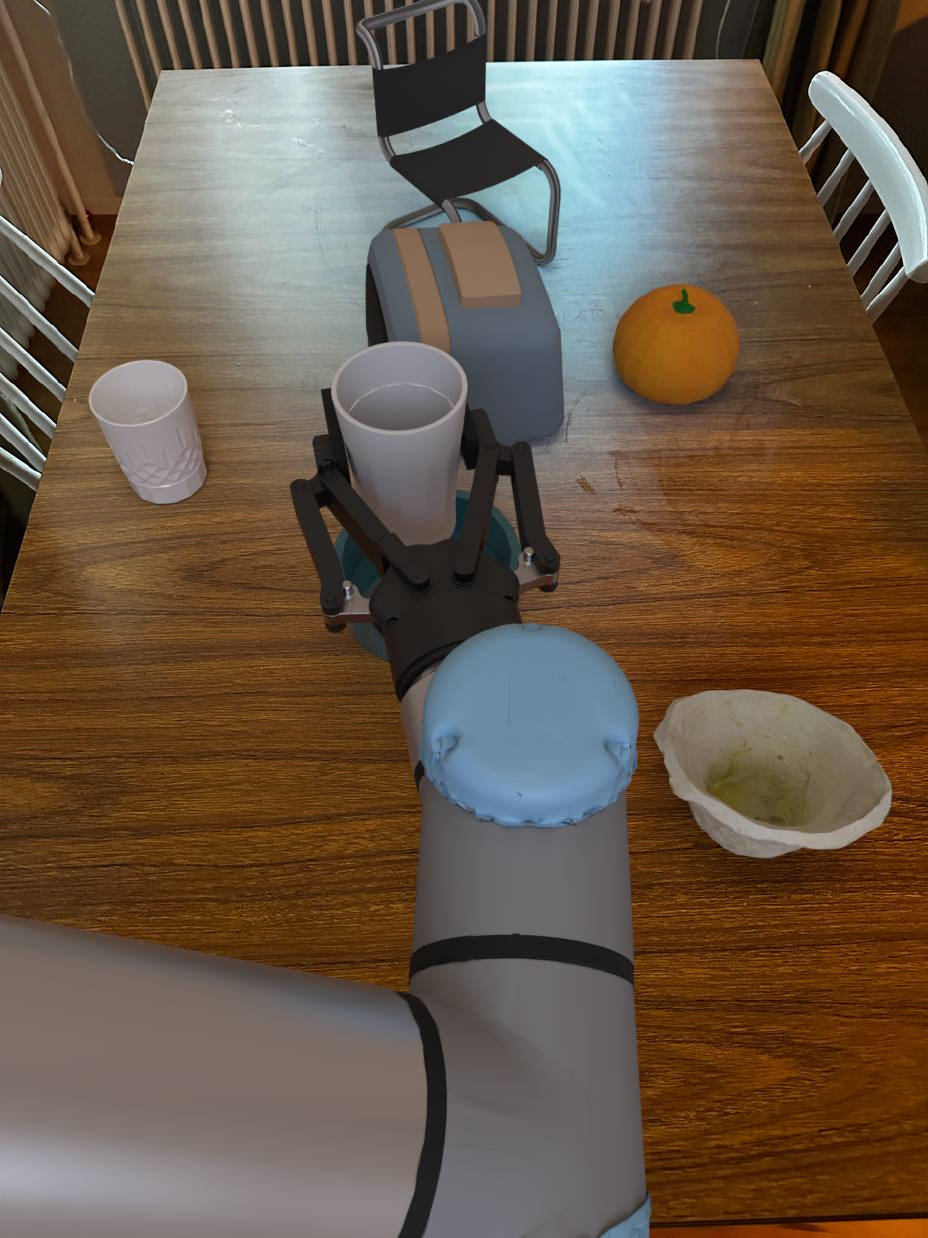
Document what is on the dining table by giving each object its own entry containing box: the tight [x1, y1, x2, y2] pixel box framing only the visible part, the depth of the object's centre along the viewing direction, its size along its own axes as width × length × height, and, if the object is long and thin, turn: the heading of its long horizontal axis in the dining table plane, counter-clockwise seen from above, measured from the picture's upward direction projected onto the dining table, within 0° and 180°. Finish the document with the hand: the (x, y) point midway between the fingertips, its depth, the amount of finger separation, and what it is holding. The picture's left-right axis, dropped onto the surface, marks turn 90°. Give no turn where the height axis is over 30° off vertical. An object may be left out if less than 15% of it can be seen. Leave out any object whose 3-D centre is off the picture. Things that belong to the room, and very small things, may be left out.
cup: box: [330, 341, 468, 546], centre depth 61 cm, size 8×8×12 cm
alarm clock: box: [364, 220, 565, 445], centre depth 85 cm, size 16×16×16 cm
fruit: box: [611, 283, 741, 406], centre depth 88 cm, size 12×12×10 cm
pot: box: [334, 488, 521, 663], centre depth 76 cm, size 15×15×5 cm
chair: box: [355, 0, 562, 266], centre depth 95 cm, size 13×17×22 cm
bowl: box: [653, 688, 893, 859], centre depth 63 cm, size 15×14×10 cm
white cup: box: [88, 359, 208, 505], centre depth 81 cm, size 8×8×10 cm
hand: (390, 394), depth 62 cm, fingers closed on cup, 7 cm apart
